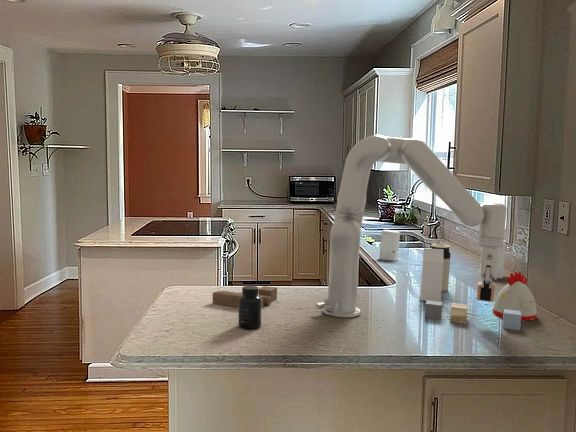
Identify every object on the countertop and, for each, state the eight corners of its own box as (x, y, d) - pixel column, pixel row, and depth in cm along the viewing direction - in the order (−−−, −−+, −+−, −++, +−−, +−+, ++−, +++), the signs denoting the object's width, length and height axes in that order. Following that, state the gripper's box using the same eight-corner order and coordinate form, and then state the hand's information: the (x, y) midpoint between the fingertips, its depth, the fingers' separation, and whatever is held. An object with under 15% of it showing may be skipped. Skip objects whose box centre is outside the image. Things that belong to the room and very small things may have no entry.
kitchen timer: (484, 311, 202) (487, 268, 200) (515, 308, 207) (519, 267, 205) (512, 322, 189) (516, 277, 187) (545, 319, 194) (549, 275, 192)
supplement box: (503, 278, 258) (506, 241, 256) (482, 277, 260) (484, 240, 258) (499, 274, 268) (502, 238, 266) (478, 273, 269) (481, 237, 267)
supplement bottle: (249, 321, 178) (250, 283, 176) (265, 326, 173) (267, 287, 172) (233, 326, 172) (234, 287, 171) (250, 331, 168) (251, 291, 167)
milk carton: (440, 302, 211) (444, 251, 209) (420, 300, 212) (424, 249, 210) (439, 298, 218) (443, 248, 216) (420, 296, 219) (423, 246, 217)
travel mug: (427, 290, 229) (430, 245, 227) (427, 286, 236) (430, 243, 234) (448, 292, 227) (451, 247, 225) (447, 288, 234) (450, 244, 233)
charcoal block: (440, 320, 188) (441, 305, 187) (424, 318, 189) (425, 303, 189) (441, 316, 193) (442, 301, 192) (426, 314, 194) (427, 300, 194)
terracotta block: (493, 302, 182) (494, 286, 181) (476, 300, 184) (478, 284, 183) (493, 298, 187) (494, 283, 186) (476, 296, 188) (478, 281, 188)
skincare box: (379, 259, 294) (380, 230, 293) (382, 257, 300) (384, 229, 298) (395, 261, 290) (396, 232, 289) (398, 259, 296) (400, 230, 294)
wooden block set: (260, 296, 189) (211, 289, 196) (260, 312, 190) (211, 305, 196) (280, 285, 205) (234, 279, 211) (279, 301, 206) (234, 294, 212)
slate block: (520, 330, 180) (521, 314, 180) (502, 328, 182) (504, 312, 181) (519, 326, 185) (520, 310, 184) (502, 324, 187) (503, 309, 186)
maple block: (466, 323, 185) (467, 308, 185) (449, 321, 187) (451, 306, 186) (466, 319, 190) (467, 304, 190) (450, 317, 192) (451, 303, 191)
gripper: (504, 247, 174) (498, 306, 176) (502, 239, 190) (496, 294, 192) (477, 244, 176) (472, 302, 178) (478, 237, 192) (473, 291, 194)
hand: (485, 297), depth 185 cm, fingers closed on terracotta block, 4 cm apart
